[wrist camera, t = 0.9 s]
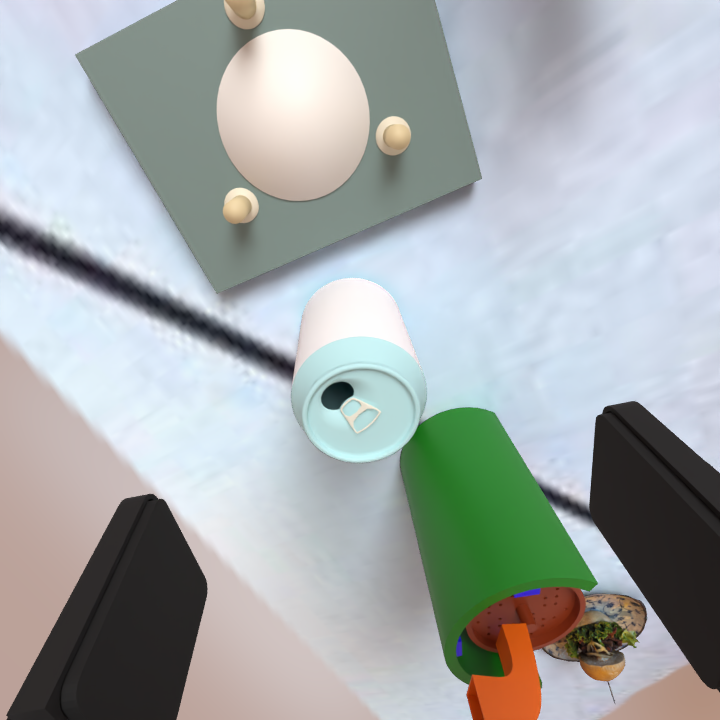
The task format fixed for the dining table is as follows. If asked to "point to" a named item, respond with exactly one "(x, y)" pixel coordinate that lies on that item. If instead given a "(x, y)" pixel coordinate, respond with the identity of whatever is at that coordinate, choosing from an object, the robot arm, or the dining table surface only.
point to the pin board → (285, 121)
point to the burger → (602, 635)
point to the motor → (490, 559)
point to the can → (356, 373)
